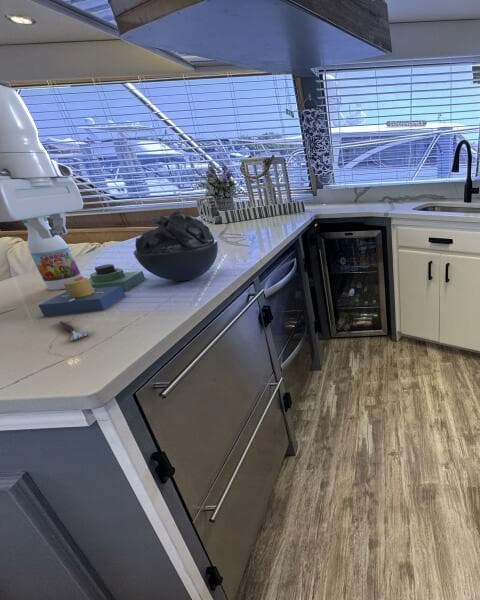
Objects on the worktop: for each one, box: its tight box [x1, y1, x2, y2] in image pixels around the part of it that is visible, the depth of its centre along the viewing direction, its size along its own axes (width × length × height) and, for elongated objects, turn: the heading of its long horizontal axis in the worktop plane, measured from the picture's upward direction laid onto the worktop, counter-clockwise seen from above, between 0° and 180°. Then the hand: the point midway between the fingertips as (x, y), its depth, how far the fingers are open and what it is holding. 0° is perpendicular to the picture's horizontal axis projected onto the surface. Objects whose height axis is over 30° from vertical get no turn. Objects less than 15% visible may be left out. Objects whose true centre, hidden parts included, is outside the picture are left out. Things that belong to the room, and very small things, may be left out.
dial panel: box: [38, 286, 126, 318], centre depth 77 cm, size 12×9×3 cm
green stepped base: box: [88, 267, 146, 292], centre depth 89 cm, size 12×10×4 cm
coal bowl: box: [133, 210, 219, 282], centre depth 91 cm, size 20×20×19 cm
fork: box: [59, 320, 90, 341], centre depth 65 cm, size 3×16×2 cm, turn 56°
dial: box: [63, 276, 94, 298], centre depth 76 cm, size 4×4×4 cm
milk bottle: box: [21, 216, 83, 291], centre depth 89 cm, size 8×8×20 cm
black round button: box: [94, 263, 116, 275], centre depth 88 cm, size 4×4×2 cm
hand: (55, 236), depth 71 cm, fingers closed
